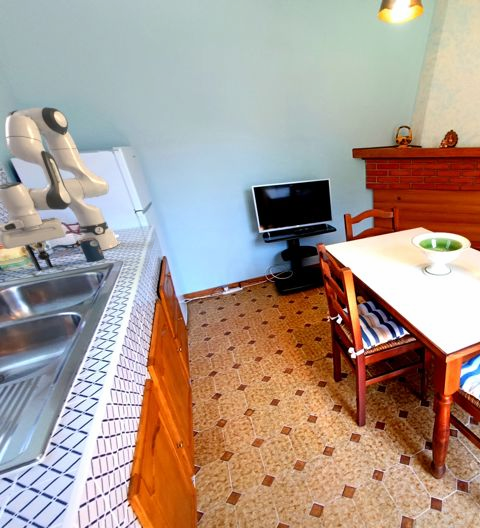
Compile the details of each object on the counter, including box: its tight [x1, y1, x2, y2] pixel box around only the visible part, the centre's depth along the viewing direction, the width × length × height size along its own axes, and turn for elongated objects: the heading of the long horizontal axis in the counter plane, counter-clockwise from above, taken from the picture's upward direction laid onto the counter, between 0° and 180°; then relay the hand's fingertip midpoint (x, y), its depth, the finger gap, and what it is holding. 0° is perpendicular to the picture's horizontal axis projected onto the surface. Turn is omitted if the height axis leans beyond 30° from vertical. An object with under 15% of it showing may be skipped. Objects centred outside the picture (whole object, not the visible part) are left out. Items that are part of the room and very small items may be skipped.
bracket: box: [24, 242, 54, 272], centre depth 140 cm, size 12×9×14 cm
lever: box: [31, 243, 51, 261], centre depth 136 cm, size 13×4×4 cm, turn 57°
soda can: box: [80, 238, 106, 263], centre depth 148 cm, size 7×7×12 cm
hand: (41, 252), depth 133 cm, fingers closed
